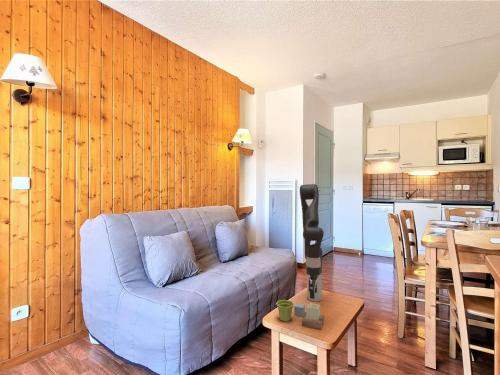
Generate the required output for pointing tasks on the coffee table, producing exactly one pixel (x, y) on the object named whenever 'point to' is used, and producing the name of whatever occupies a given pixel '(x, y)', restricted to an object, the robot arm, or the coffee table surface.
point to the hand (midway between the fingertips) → (313, 295)
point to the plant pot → (285, 309)
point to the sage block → (313, 311)
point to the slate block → (299, 309)
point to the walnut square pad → (313, 322)
